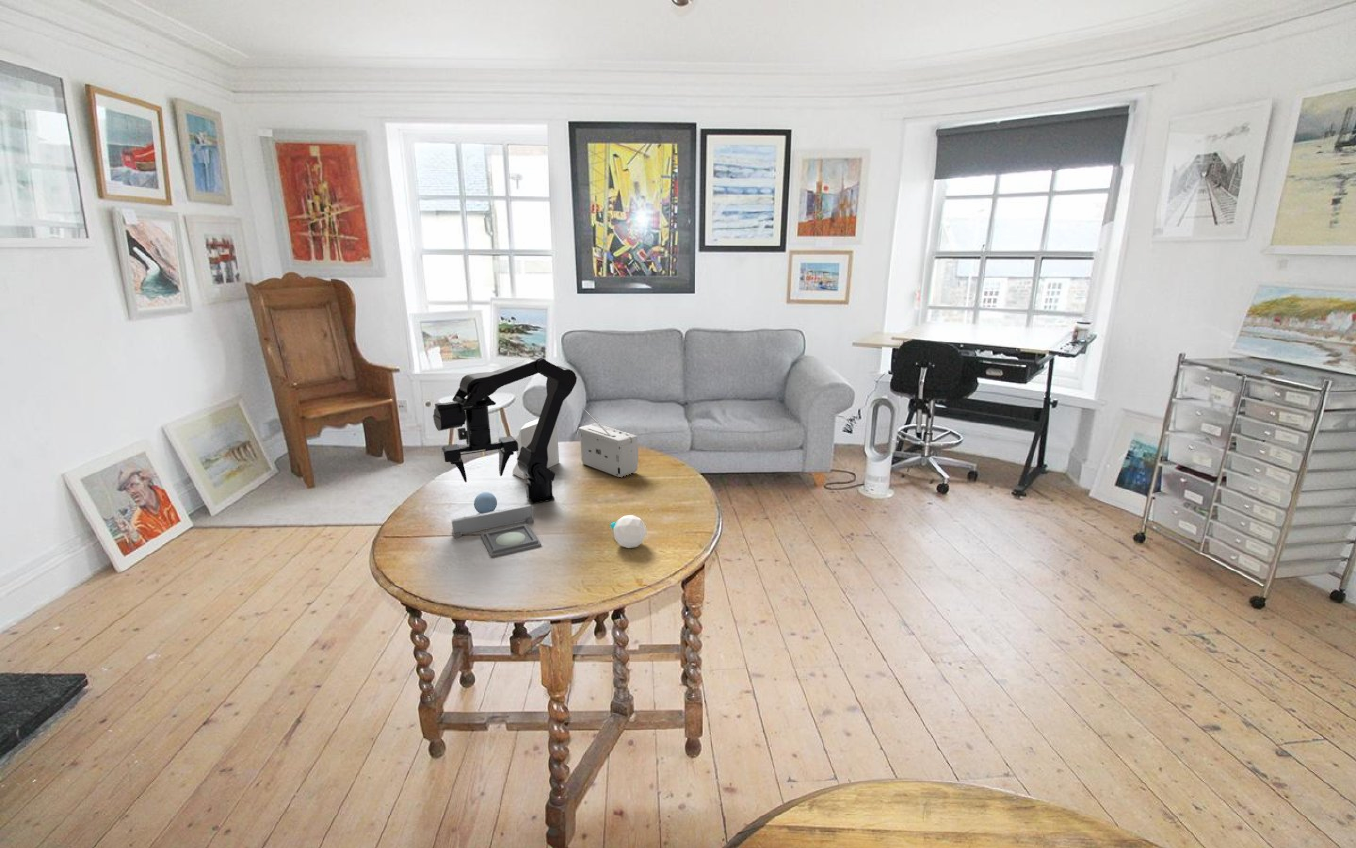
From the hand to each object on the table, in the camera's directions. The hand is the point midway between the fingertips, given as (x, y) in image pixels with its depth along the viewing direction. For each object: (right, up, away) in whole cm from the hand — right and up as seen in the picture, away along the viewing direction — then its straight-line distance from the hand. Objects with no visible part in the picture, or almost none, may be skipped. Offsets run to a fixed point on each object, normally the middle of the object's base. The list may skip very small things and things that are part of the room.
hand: (483, 478), depth 159 cm
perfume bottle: (+39, -15, -12) cm, 44 cm away
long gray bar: (+4, -12, -5) cm, 14 cm away
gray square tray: (+11, -14, -12) cm, 22 cm away
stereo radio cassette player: (+29, 0, +36) cm, 46 cm away
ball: (0, -10, +3) cm, 10 cm away
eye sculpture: (+6, 0, +37) cm, 37 cm away
